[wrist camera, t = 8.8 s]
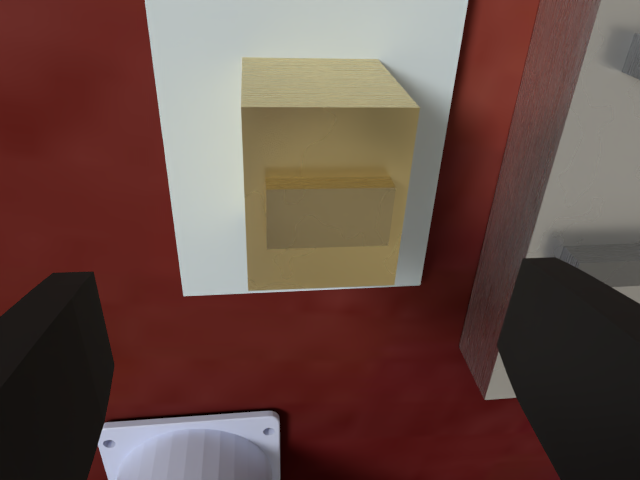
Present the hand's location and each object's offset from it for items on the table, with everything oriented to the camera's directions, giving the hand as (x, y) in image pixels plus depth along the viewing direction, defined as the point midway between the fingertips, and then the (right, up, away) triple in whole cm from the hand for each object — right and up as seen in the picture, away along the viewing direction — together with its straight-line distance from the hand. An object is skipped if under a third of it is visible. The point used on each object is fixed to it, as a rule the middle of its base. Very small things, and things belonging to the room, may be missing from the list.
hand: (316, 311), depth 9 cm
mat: (0, +5, +8) cm, 9 cm away
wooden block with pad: (0, +4, +8) cm, 9 cm away
